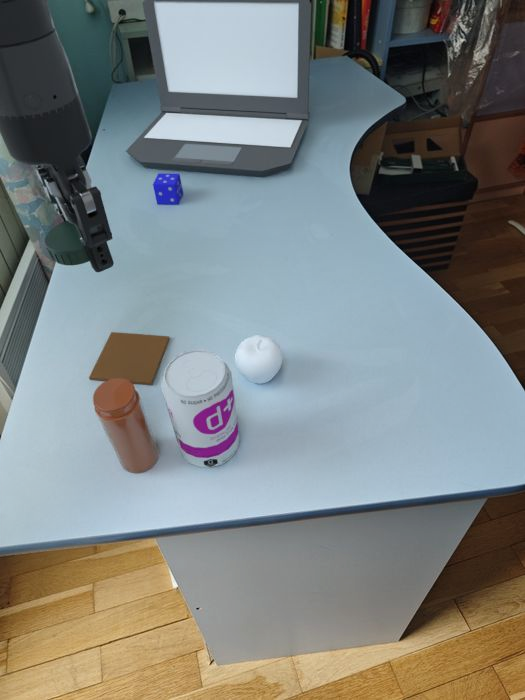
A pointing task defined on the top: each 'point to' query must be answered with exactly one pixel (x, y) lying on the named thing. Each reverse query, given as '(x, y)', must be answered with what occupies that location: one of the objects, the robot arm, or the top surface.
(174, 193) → the die
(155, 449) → the jar
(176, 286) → the top surface
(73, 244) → the lid
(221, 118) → the laptop
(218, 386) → the supplement can
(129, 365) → the coaster
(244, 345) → the plain white apple
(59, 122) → the robot arm
